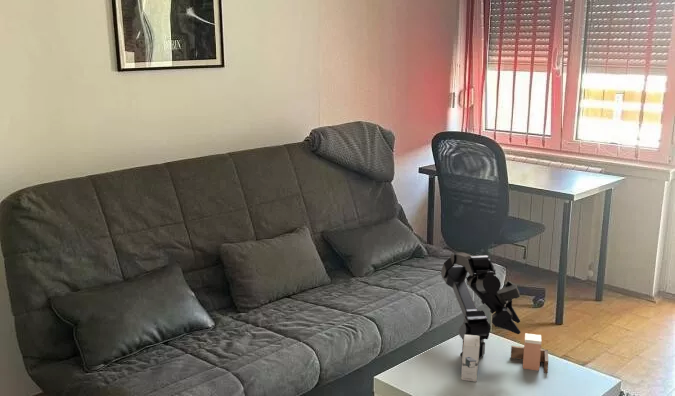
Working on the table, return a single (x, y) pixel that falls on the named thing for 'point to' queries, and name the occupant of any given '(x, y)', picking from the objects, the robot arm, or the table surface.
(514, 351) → the walnut corner walls
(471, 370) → the ink box
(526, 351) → the pink tall block
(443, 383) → the table surface
